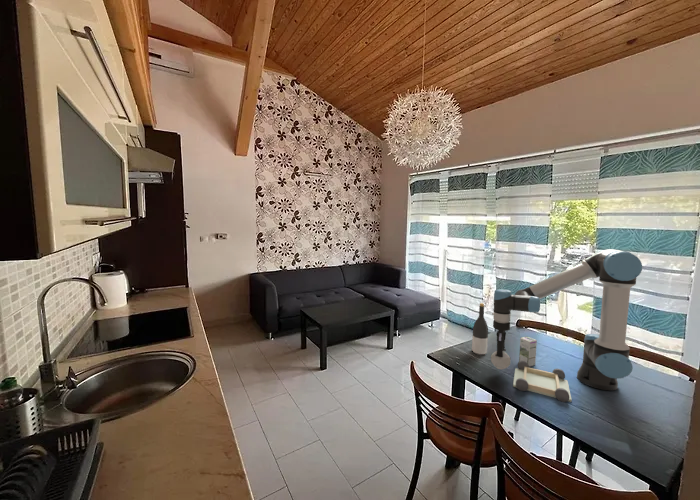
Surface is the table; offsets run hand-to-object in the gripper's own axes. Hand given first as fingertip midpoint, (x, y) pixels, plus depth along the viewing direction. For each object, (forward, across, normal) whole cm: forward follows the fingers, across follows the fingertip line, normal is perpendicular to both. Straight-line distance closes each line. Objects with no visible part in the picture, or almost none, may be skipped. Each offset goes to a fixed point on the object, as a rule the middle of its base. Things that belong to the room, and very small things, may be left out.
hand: (500, 365), depth 149 cm
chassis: (+5, -1, +17) cm, 18 cm away
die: (+1, +2, 0) cm, 2 cm away
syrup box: (+5, -21, +11) cm, 24 cm away
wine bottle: (+5, -21, -13) cm, 25 cm away
